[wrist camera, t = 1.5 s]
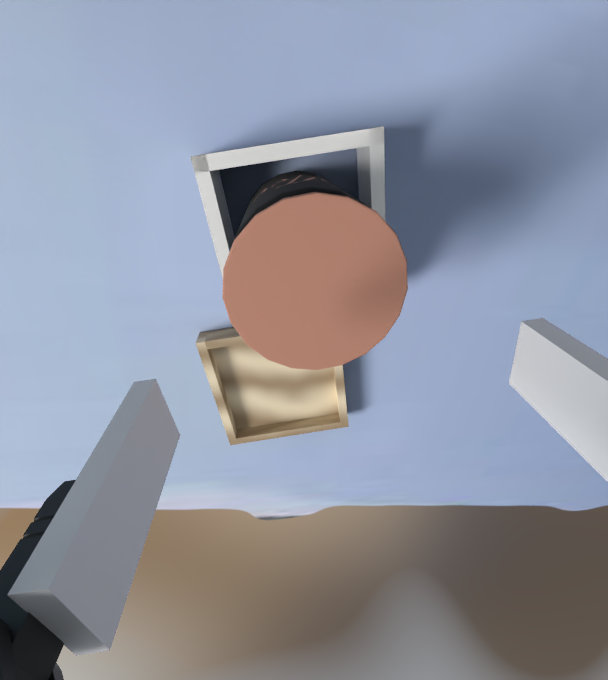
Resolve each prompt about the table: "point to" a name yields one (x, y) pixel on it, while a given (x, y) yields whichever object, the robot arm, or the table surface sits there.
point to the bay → (363, 140)
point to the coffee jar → (313, 274)
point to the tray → (268, 391)
